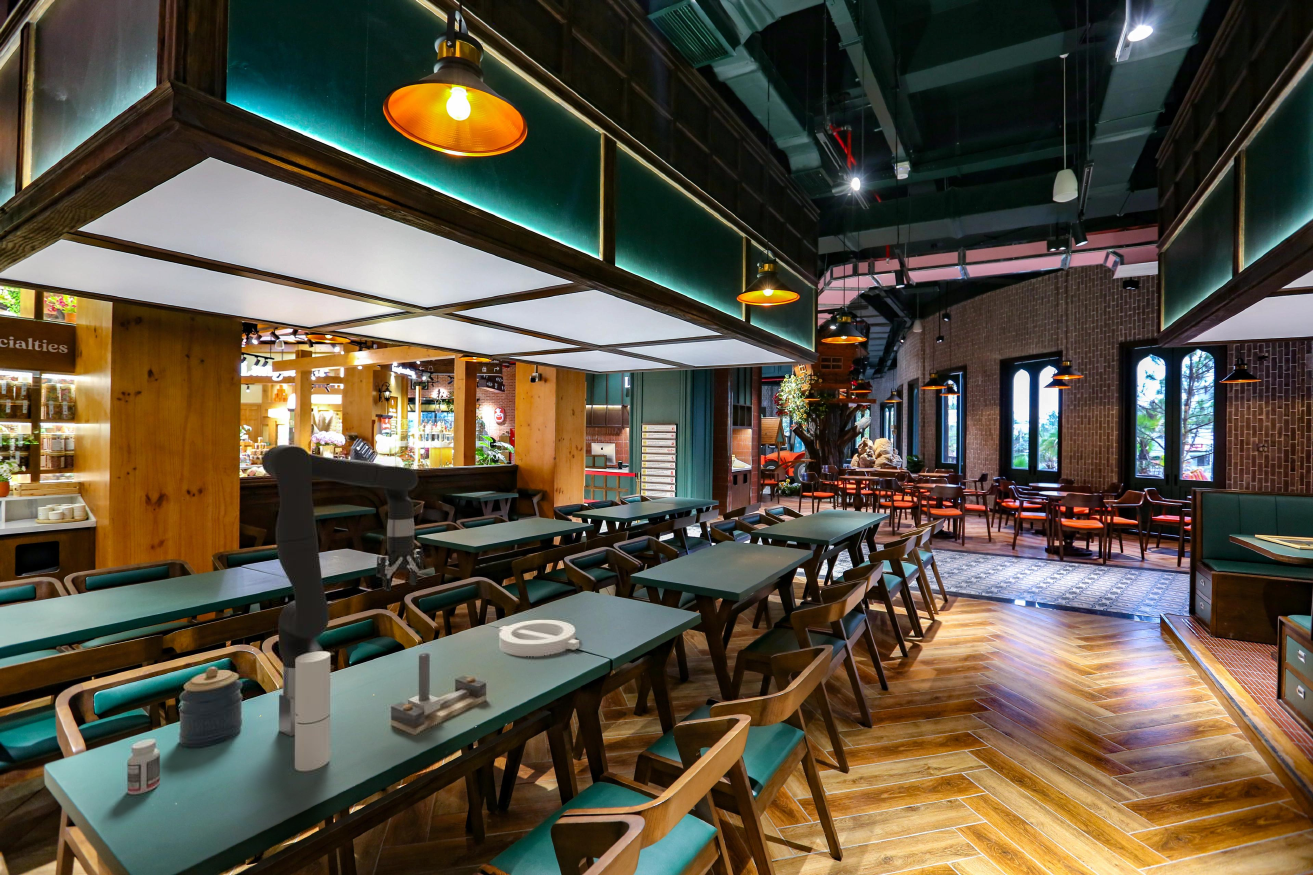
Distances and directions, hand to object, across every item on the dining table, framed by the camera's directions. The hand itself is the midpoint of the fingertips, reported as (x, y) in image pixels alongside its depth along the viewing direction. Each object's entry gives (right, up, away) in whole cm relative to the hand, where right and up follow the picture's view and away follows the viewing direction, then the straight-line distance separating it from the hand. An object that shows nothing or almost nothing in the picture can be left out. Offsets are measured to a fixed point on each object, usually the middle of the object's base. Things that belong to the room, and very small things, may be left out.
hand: (400, 587), depth 175 cm
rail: (+16, -32, -12) cm, 38 cm away
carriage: (+14, -29, -16) cm, 36 cm away
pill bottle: (-35, -32, -48) cm, 67 cm away
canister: (-38, -32, -25) cm, 56 cm away
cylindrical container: (-4, -32, -38) cm, 50 cm away
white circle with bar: (+32, -33, +45) cm, 64 cm away
